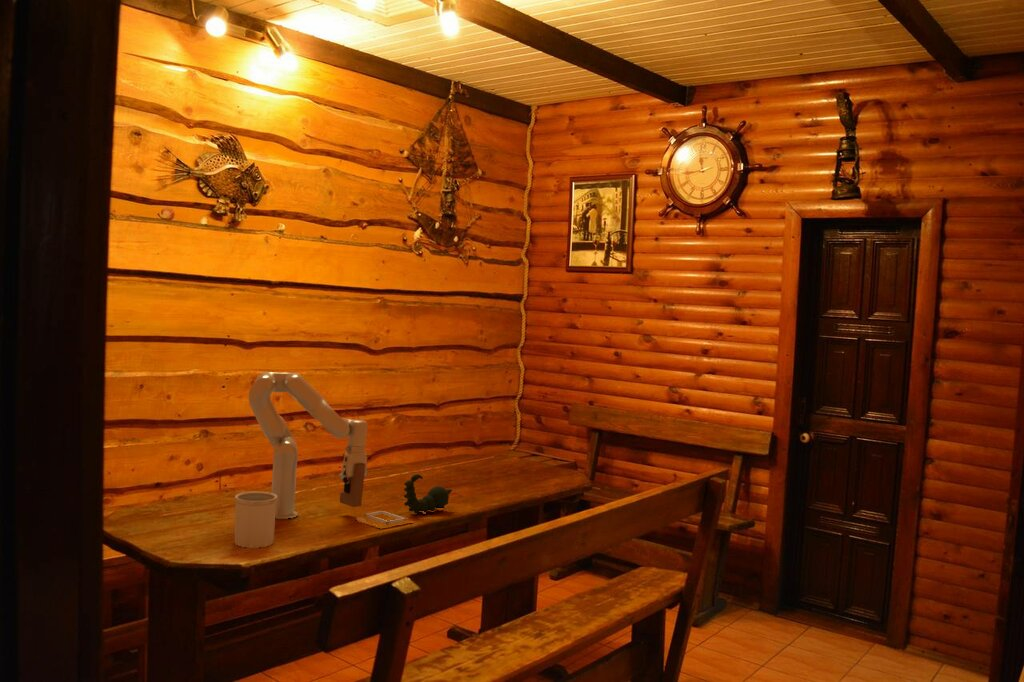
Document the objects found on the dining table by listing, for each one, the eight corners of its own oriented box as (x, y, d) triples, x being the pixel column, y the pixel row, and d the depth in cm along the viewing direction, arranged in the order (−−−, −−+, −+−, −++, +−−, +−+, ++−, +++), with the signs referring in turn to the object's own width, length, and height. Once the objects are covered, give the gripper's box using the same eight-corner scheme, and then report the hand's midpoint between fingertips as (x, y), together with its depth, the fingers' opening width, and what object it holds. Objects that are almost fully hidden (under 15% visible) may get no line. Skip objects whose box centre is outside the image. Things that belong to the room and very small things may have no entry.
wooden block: (339, 502, 359) (343, 460, 359) (347, 501, 363) (351, 459, 362) (353, 507, 354) (357, 464, 353) (361, 506, 358) (365, 463, 357)
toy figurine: (413, 522, 362) (458, 510, 379) (412, 478, 361) (458, 468, 377) (400, 517, 369) (445, 505, 386) (399, 474, 367) (445, 464, 384)
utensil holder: (257, 551, 302) (260, 502, 301) (223, 544, 307) (226, 496, 306) (282, 541, 315) (285, 495, 315) (250, 535, 321) (252, 489, 320)
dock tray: (380, 529, 341) (380, 523, 341) (355, 520, 351) (355, 514, 351) (413, 523, 354) (414, 517, 354) (388, 514, 365) (389, 509, 365)
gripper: (345, 452, 349) (340, 495, 350) (377, 450, 362) (372, 492, 362) (334, 448, 354) (329, 491, 354) (366, 446, 367) (361, 488, 367)
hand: (351, 491), depth 358 cm, fingers closed on wooden block, 4 cm apart
